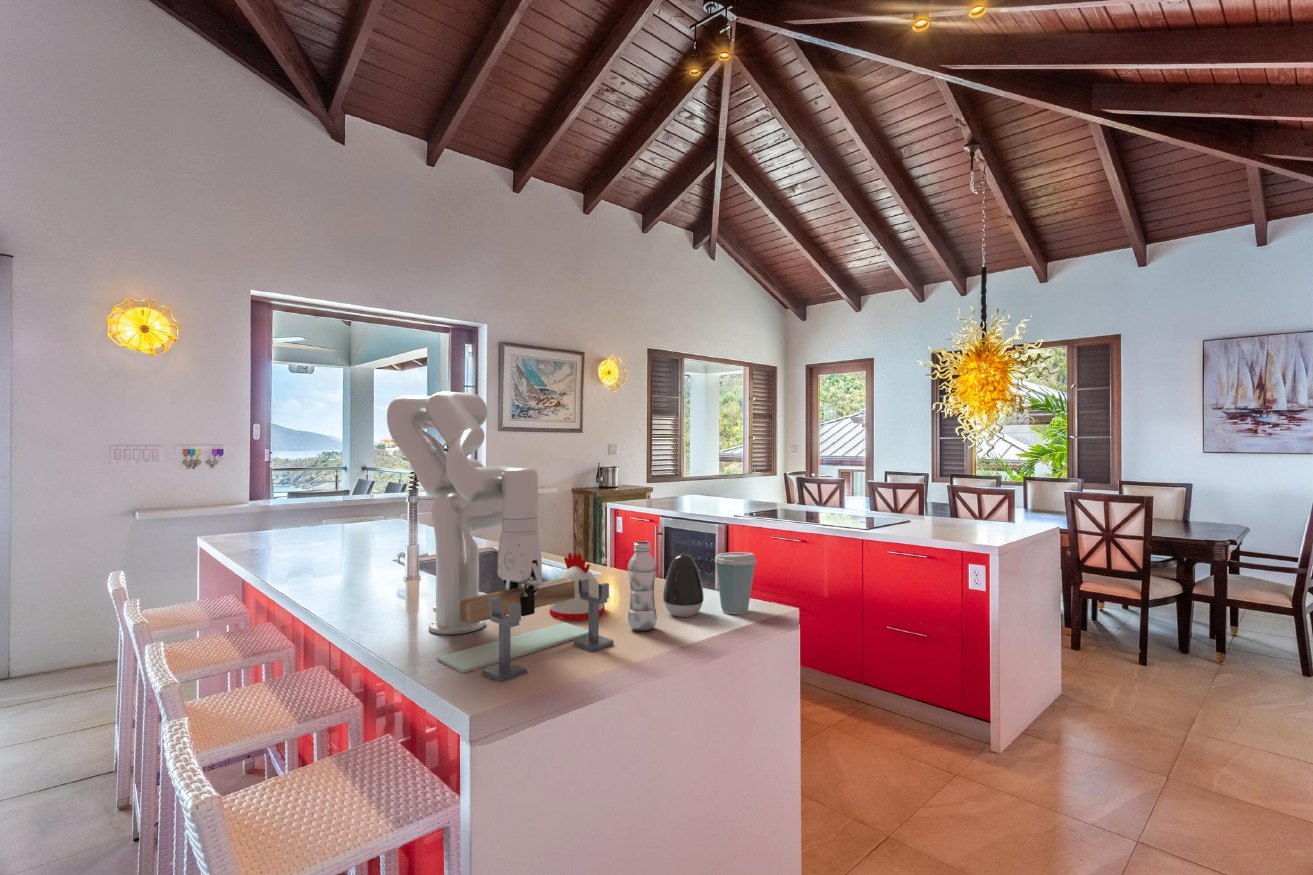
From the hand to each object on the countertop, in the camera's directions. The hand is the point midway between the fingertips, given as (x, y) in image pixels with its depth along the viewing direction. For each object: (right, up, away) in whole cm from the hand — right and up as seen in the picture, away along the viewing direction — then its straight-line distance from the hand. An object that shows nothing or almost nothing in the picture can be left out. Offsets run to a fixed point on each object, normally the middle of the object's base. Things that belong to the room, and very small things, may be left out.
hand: (520, 611), depth 129 cm
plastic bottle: (+25, -8, +12) cm, 29 cm away
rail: (0, +1, 0) cm, 1 cm away
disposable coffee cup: (+49, -8, +27) cm, 56 cm away
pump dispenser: (+35, -8, +24) cm, 44 cm away
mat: (0, -7, 0) cm, 7 cm away
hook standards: (+8, -7, -7) cm, 13 cm away
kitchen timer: (+9, -8, +26) cm, 28 cm away
